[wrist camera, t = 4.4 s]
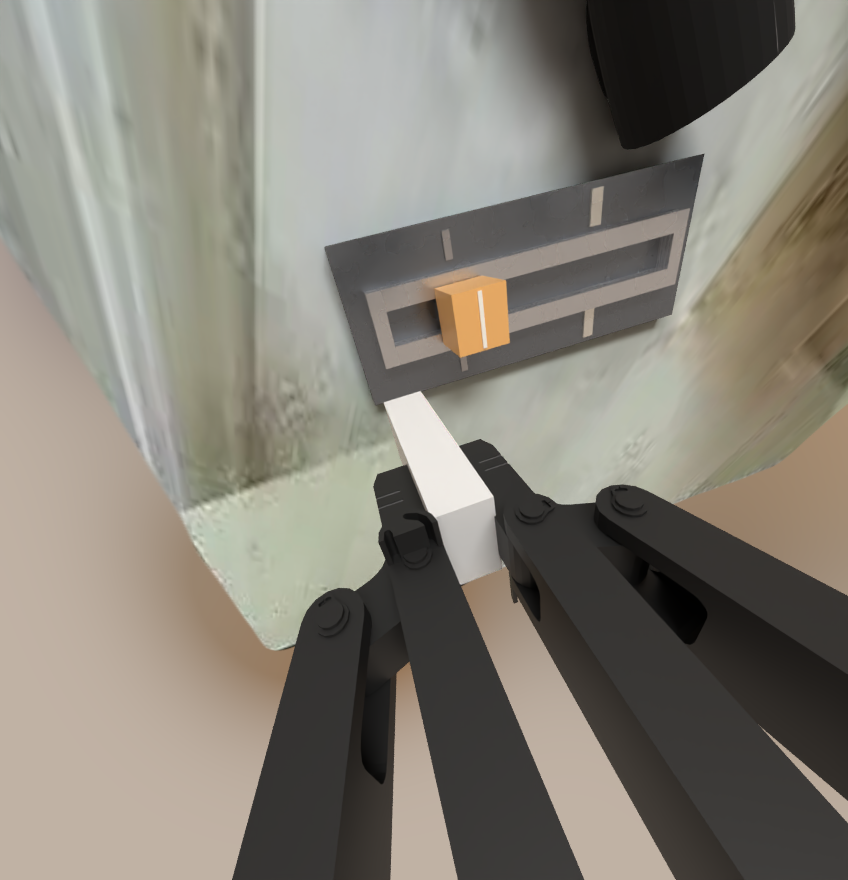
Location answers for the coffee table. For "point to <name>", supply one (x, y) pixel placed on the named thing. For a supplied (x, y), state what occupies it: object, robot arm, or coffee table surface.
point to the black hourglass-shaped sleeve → (680, 57)
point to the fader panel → (519, 274)
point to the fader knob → (473, 314)
